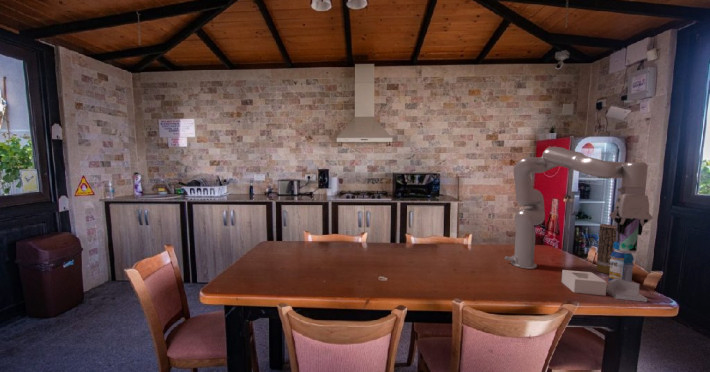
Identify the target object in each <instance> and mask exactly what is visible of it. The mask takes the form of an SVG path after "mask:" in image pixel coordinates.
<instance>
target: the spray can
mask: <svg viewBox="0 0 710 372" xmlns="http://www.w3.org/2000/svg"><path fill="white" fill-rule="evenodd" d="M634 214H635V213H634ZM636 214H637V213H636ZM623 225H625V229H624V234H620V233H619V234H620V236H619V242H620V245H619V250H621V251H625V252H630V253H631V254H632V253H637V250H638V249H637V248H638V238H639V235H638V229H639V219H637V218H631V219H628V218H626V219H625V221H624V223H623Z"/></svg>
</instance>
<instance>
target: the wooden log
mask: <svg viewBox="0 0 710 372" xmlns="http://www.w3.org/2000/svg"><path fill="white" fill-rule="evenodd" d="M617 232H618V231H617V225H614V224H608V223H607V224H606V223H600V224H599V230H598V243H597V254H596V255H597V257H596V268H595V269H596V271H597V272H599V273H601V272H602V274H606V275H609V273H610V259H611V256H610V255H611V253H612V252H613V251H614V250H615V249H613V244H614V242H617Z"/></svg>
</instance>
